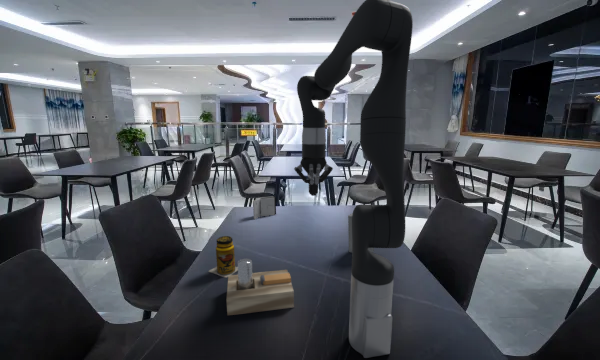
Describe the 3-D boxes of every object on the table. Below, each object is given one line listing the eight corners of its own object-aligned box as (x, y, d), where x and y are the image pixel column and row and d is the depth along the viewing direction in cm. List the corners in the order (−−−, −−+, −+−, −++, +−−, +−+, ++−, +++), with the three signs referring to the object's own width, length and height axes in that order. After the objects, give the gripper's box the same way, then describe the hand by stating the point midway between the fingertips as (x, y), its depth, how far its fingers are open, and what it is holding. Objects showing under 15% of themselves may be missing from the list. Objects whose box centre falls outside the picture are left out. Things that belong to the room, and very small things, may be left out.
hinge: (254, 219, 153) (253, 201, 151) (250, 216, 157) (249, 199, 155) (277, 214, 160) (276, 197, 158) (272, 212, 164) (272, 195, 163)
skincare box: (374, 252, 115) (376, 213, 111) (365, 258, 109) (367, 218, 106) (355, 246, 120) (356, 209, 117) (346, 252, 114) (347, 214, 111)
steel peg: (253, 303, 82) (252, 264, 80) (239, 305, 81) (237, 265, 79) (252, 295, 86) (251, 258, 84) (239, 297, 85) (237, 259, 83)
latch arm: (260, 285, 82) (260, 280, 82) (260, 279, 85) (260, 275, 85) (291, 281, 84) (291, 277, 83) (289, 276, 87) (289, 272, 86)
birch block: (293, 307, 80) (293, 291, 79) (227, 315, 77) (226, 298, 76) (287, 284, 92) (287, 269, 91) (229, 290, 88) (228, 275, 87)
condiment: (226, 278, 95) (224, 244, 93) (208, 271, 99) (205, 239, 97) (241, 268, 102) (239, 236, 99) (223, 263, 106) (221, 232, 103)
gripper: (330, 141, 97) (329, 191, 100) (291, 141, 94) (291, 193, 98) (337, 142, 89) (335, 196, 93) (295, 143, 87) (295, 199, 90)
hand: (313, 195), depth 95 cm, fingers closed
